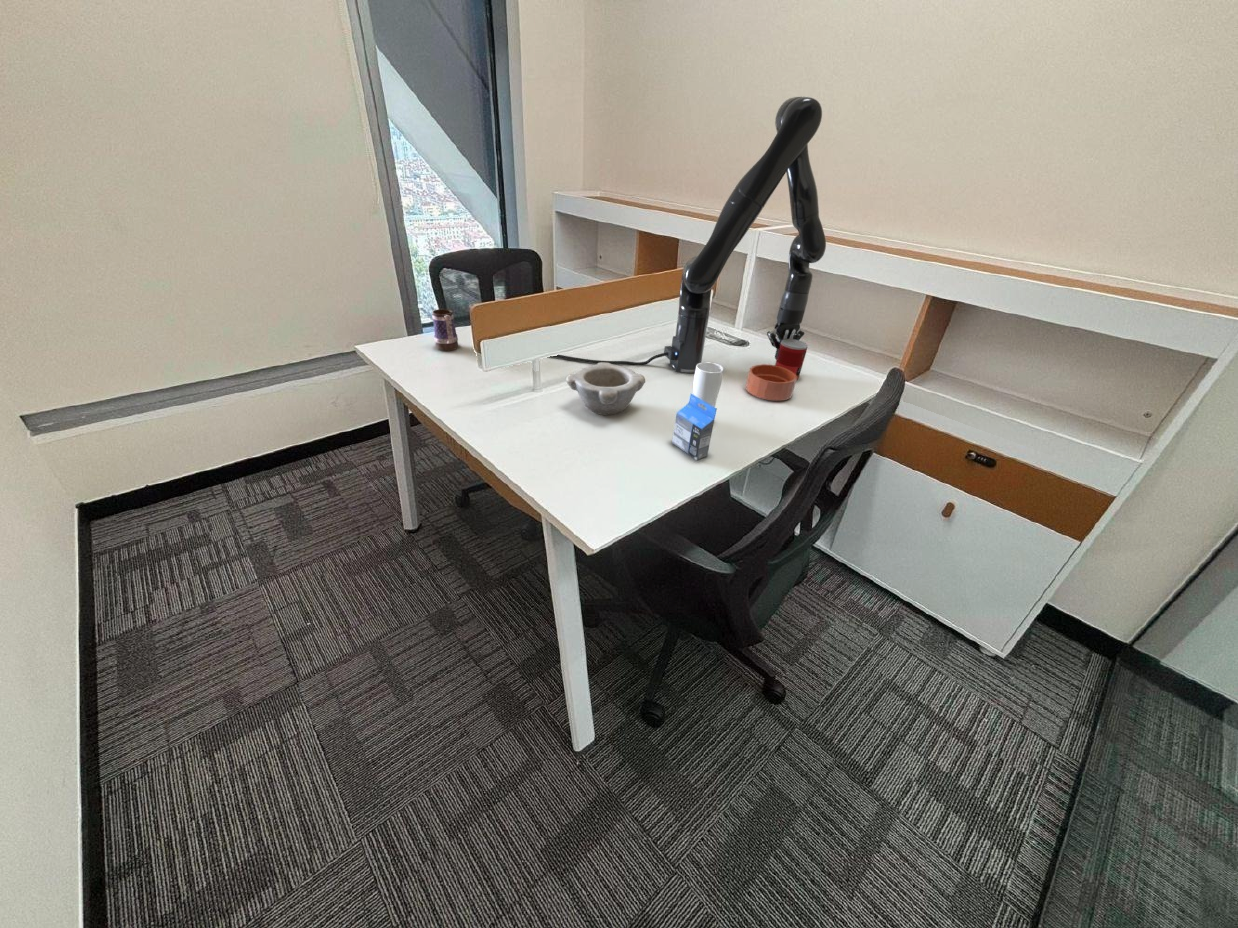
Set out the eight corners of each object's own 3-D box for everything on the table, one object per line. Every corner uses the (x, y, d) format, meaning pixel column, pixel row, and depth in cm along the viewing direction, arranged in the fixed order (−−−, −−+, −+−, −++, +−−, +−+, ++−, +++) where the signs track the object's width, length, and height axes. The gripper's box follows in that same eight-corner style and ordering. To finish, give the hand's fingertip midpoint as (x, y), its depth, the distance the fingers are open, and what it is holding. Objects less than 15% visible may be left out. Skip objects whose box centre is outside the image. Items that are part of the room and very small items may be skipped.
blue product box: (671, 443, 119) (677, 396, 112) (683, 439, 120) (690, 392, 114) (696, 460, 113) (704, 412, 106) (708, 456, 115) (717, 408, 108)
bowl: (761, 404, 139) (766, 384, 136) (737, 384, 150) (740, 366, 147) (800, 400, 143) (806, 380, 140) (774, 381, 154) (779, 362, 151)
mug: (433, 345, 162) (428, 308, 155) (455, 342, 165) (451, 306, 158) (440, 356, 155) (435, 317, 148) (463, 353, 158) (459, 315, 151)
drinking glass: (707, 430, 125) (717, 375, 117) (683, 422, 128) (691, 367, 119) (717, 420, 130) (728, 366, 121) (694, 412, 132) (702, 359, 124)
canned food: (800, 382, 154) (810, 348, 148) (774, 379, 155) (782, 345, 149) (796, 373, 160) (805, 340, 154) (771, 370, 161) (779, 337, 155)
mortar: (560, 405, 131) (560, 373, 126) (604, 388, 142) (606, 357, 137) (605, 429, 122) (607, 396, 117) (649, 408, 133) (652, 377, 128)
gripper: (803, 301, 155) (788, 354, 164) (767, 303, 151) (754, 357, 160) (818, 308, 149) (803, 363, 159) (781, 310, 145) (768, 366, 154)
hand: (778, 360), depth 159 cm, fingers closed
